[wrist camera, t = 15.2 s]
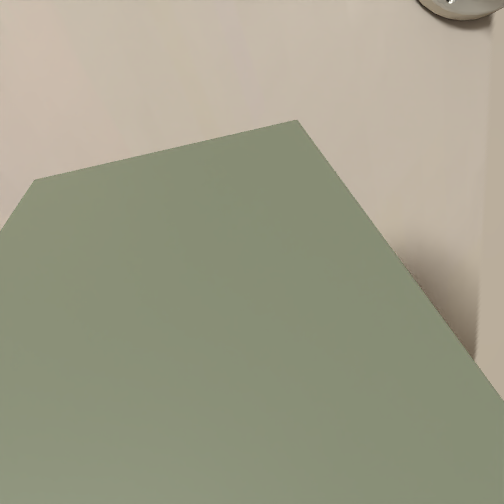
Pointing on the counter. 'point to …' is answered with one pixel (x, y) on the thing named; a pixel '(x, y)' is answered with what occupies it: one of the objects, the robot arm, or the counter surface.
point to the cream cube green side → (228, 342)
